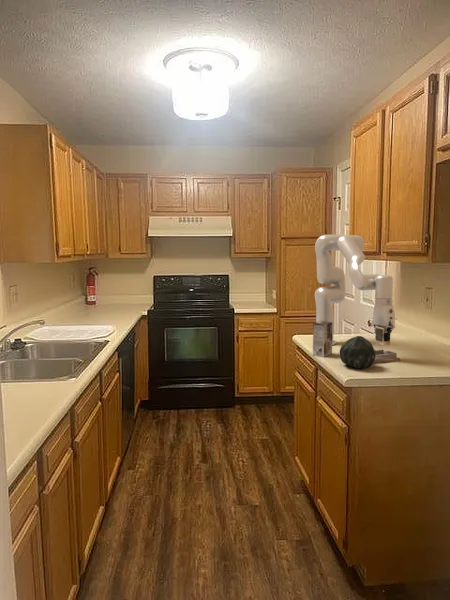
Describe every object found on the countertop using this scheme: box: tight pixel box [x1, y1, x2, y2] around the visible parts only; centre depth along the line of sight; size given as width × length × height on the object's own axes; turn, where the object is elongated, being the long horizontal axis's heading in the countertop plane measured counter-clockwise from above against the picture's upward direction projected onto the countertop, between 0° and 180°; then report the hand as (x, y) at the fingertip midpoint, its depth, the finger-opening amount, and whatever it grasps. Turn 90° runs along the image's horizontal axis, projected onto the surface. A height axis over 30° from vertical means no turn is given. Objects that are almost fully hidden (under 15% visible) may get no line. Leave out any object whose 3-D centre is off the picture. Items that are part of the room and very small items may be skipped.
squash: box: [339, 335, 375, 370], centre depth 188 cm, size 14×15×15 cm
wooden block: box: [375, 326, 391, 346], centre depth 201 cm, size 4×5×8 cm
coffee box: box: [312, 321, 333, 358], centre depth 211 cm, size 9×6×16 cm
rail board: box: [372, 347, 401, 365], centre depth 201 cm, size 13×16×6 cm
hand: (382, 339), depth 201 cm, fingers closed on wooden block, 4 cm apart
